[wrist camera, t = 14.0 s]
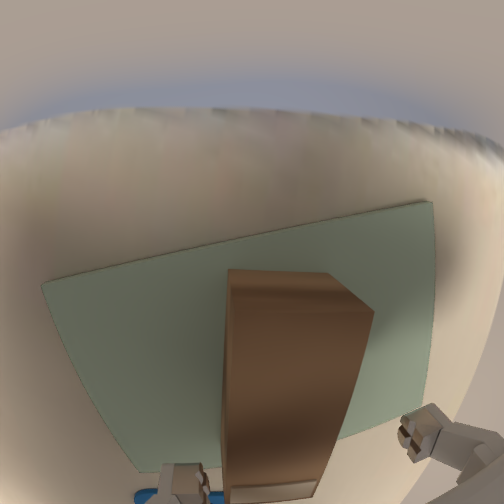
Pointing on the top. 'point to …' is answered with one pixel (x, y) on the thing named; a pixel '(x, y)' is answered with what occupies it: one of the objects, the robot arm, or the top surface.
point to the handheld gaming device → (146, 494)
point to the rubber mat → (213, 328)
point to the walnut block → (286, 380)
